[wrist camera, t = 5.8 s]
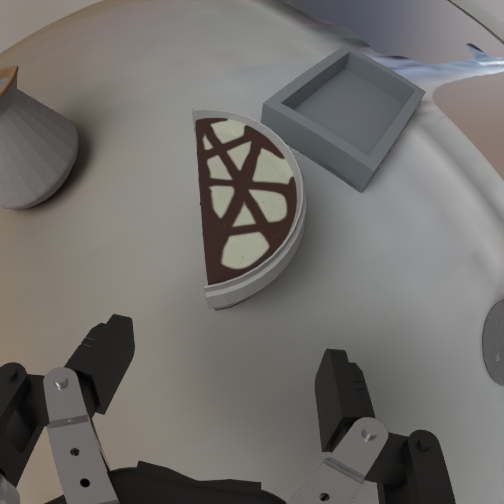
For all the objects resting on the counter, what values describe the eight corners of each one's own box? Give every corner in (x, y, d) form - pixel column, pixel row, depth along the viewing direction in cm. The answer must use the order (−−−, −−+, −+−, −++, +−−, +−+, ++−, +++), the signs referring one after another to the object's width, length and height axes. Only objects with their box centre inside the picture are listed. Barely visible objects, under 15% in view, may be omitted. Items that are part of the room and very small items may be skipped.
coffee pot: (105, 167, 28) (48, 45, 14) (21, 243, 24) (-77, 156, 10) (43, 93, 33) (6, 13, 19) (-18, 144, 29) (-68, 74, 15)
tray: (415, 110, 34) (425, 91, 31) (361, 193, 28) (374, 171, 25) (339, 64, 36) (345, 45, 33) (260, 128, 30) (262, 103, 27)
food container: (298, 318, 24) (339, 281, 14) (217, 329, 23) (205, 300, 14) (271, 181, 28) (287, 97, 19) (203, 188, 27) (191, 103, 18)
